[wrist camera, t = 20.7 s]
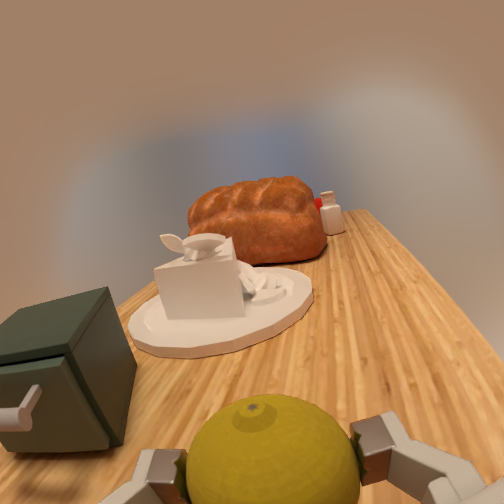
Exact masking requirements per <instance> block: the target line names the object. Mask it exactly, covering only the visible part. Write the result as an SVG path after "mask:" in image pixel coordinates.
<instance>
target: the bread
mask: <svg viewBox="0 0 504 504" xmlns="http://www.w3.org/2000/svg"><path fill="white" fill-rule="evenodd" d="M188 225H189V227H190V232H189V234H188V237H189V236H193V235H196V234H203V233H214V234H220V235H223V236H225V237H226V239H227V238H230V237H232V241H233V245H234V250H235V254H236V258H237V260H239V261H242V262H245V263H247V264H250V265H251V266H252V265H259V264H263V263H285V262H293V261H301V260H306V259H311V258H315V257H317V256H318V255H319V253H320V252H321V251H322V249H323V248H324V247H325V246H326V242H327V237H326V235H325V232H324V229H323V223H322V219H321V216H320V214H319V212H318V210H317V208H316V207H315V200H314V196H313V193H312V190H311V189H310V188H309V187H308V186H307V185H306V184H305V183H303V182H302V181H301V180H300V179H299V178H297V177H294V176H285V177H282V178H275V177H271V178H263V179H259V181H258V182H257V181H243V182H238V183H235V184H234V185H232V186H222V187H217V188H215V189H213V190H211V191H209V192H207V193H205V194H204V195H202V196H201V197H200V198H199V199H198V200H197V201H196V202H195V203H194V204H193V205H192V206H191V207H190V208H189V211H188Z"/></svg>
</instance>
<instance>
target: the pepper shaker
mask: <svg viewBox="0 0 504 504" xmlns="http://www.w3.org/2000/svg"><path fill="white" fill-rule="evenodd" d="M320 195H321V200H322V204H323V207H321V208H320V213H321V219H322V223H323V229H324V232H325V234H327V235H334V234H339V233H342V232H343V231H344V228H343V222H342V215H341V209H340V206H339V205H336V202H335V195H334V191H328V192H323V193H321V194H320Z"/></svg>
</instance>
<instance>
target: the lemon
mask: <svg viewBox="0 0 504 504" xmlns="http://www.w3.org/2000/svg"><path fill="white" fill-rule="evenodd" d="M186 482H187V489H188V493H189V496H190V499H191V502H192V504H357V503H358V500H359V495H360V471H359V464H358V461H357V458H356V455H355V452H354V449H353V447H352V444H351V442H350V440H349V438H348V436H347V434H346V433H345V432H344V430H343V429H342V428H341V427H340V425H339V424H338V423H337V422H336V420H335V419H334V418H333V417H332V416H331V415H329V414H328V413H327V412H325V411H324V410H322V409H321V408H319V407H318V406H316V405H315V404H312V403H310V402H307V401H304V400H302V399H299V398H297V397H291V396H285V395H271V394H266V395H258V396H252V397H248V398H244V399H241V400H239V401H236V402H234V403H231V404H229V405H228V406H226V407H224V408H223V409H221V410H219V411H218V412H217V413H215V414H214V415H213V416H212V417H211V418H210V419H209V420H207V421H206V422H205V424H204V425H203V426H202V427H201V429H200V430H199V432H198V433H197V434H196V436H195V437H194V439H193V442H192V445H191V447H190V450H189V453H188V455H187V462H186Z"/></svg>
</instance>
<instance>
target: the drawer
mask: <svg viewBox="0 0 504 504" xmlns="http://www.w3.org/2000/svg"><path fill="white" fill-rule="evenodd" d="M0 442H1V443H2V445H3V446H4V447H5V449H6V450H7V451H8V452H33V453H51V452H79V451H94V450H106V449H108V448H109V443H110V438H109V436H108V434H107V433H106V431H105V430H104V428H103V426H102V425H101V423H100V421H99V420H98V418H97V416H96V415H95V413H94V411H93V409H92V408H91V406H90V404H89V402H88V401H87V399H86V397H85V395H84V393H83V391H82V389H81V388H80V386H79V384H78V382H77V380H76V378H75V376H74V374H73V372H72V370H71V368H70V366H69V364H68V361H67V359H66V357H65V356H64V353H63V354H57V355H52V356H46V357H41V358H35V359H29V360H23V361H17V362H11V363H5V364H0Z"/></svg>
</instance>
